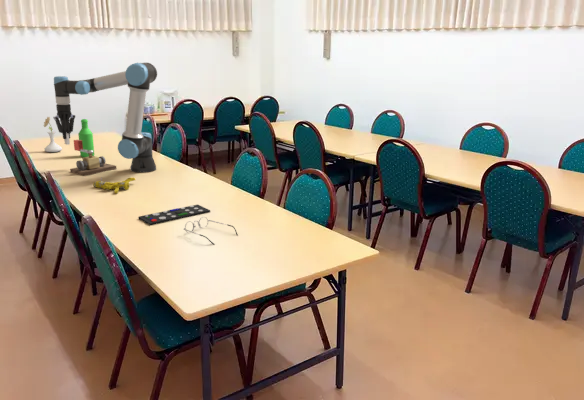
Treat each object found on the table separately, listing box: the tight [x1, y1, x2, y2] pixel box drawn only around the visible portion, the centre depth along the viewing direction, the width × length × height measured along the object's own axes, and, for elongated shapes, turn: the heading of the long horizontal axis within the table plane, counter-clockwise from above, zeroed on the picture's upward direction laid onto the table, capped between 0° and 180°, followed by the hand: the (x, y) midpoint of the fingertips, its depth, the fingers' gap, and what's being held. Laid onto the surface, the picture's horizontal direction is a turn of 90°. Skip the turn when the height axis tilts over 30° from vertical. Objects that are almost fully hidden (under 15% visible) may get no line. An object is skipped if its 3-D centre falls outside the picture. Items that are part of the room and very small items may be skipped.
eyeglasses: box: [183, 216, 239, 245], centre depth 206 cm, size 16×19×5 cm
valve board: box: [69, 154, 117, 177], centre depth 302 cm, size 14×22×11 cm, turn 147°
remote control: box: [137, 204, 211, 226], centre depth 228 cm, size 11×30×2 cm, turn 132°
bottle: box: [78, 118, 95, 158], centre depth 336 cm, size 9×9×25 cm
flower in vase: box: [43, 116, 63, 153], centre depth 347 cm, size 13×11×25 cm
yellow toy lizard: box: [92, 177, 136, 194], centre depth 268 cm, size 22×6×20 cm
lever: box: [73, 139, 93, 154], centre depth 300 cm, size 15×4×6 cm, turn 57°
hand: (67, 144), depth 296 cm, fingers closed
